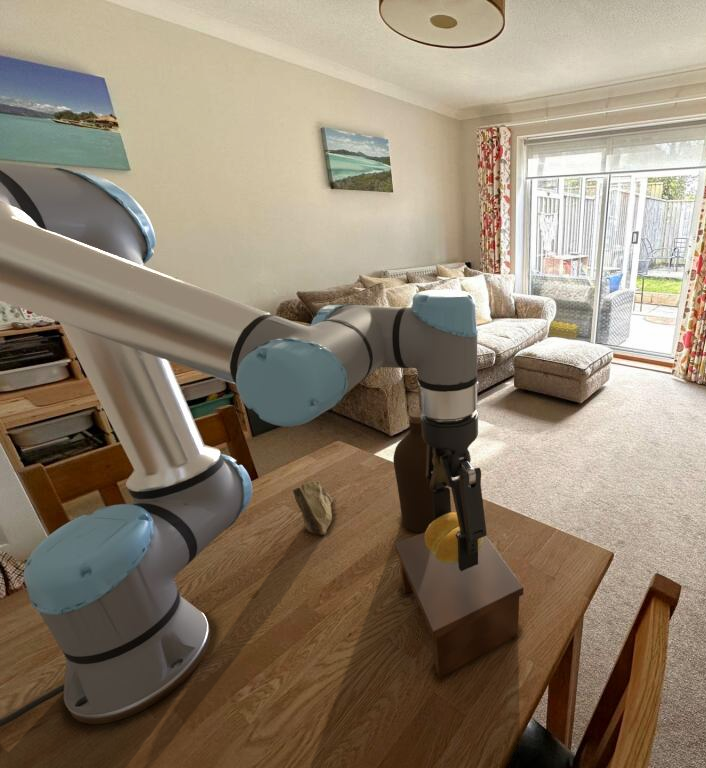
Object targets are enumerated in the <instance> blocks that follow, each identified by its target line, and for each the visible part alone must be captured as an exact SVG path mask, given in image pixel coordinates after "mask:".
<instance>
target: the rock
mask: <svg viewBox="0 0 706 768" xmlns="http://www.w3.org/2000/svg"><path fill="white" fill-rule="evenodd" d="M292 493H293V496H294V499H295V502H296V504H297V506H298V508H299V511H300V512H301V516H302V519H303V523H304V525H305V529H306V530H307V531H308V532H310V533H313V534H314V535H322V536H325V535H326V534H327V531H328V528H329V526H330V525H331V523H332V518H333V515H332V506H331V505H332V503H333V498H332V497H331V495H330V494H329V493H328V491H327V490H326V489H325V488H324V487H322V486H321V484H320V481H319V480H317V481H316V480H315V481H307V482H304V483H303V484H301V486H298V487H295V488H293V489H292Z"/></svg>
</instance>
